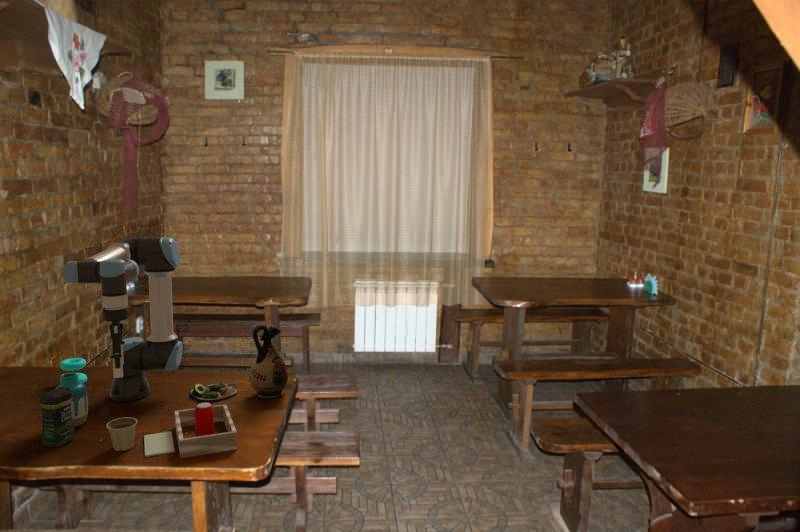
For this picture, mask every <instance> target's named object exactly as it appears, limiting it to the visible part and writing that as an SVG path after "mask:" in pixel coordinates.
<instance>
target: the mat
mask: <svg viewBox="0 0 800 532" xmlns="http://www.w3.org/2000/svg"><path fill="white" fill-rule="evenodd" d="M143 440H144V458H147V457H153V456H161V455H167V454H173V453H175V452H176V450H175V443H174V438H173V431H164V432H159V433H158V432H156V433H150V434H145V435H144V436H143Z"/></svg>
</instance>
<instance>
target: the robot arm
mask: <svg viewBox="0 0 800 532" xmlns="http://www.w3.org/2000/svg"><path fill="white" fill-rule="evenodd" d="M180 254H181V253H180V250H179V246H178V243H177V242H176V240H175V239H173V238H172V237H163V236H160V237H159V236H156V237H155V236H153V237H150V236H146V237H139V236H137V237H135V236H134V237H129V238H124V239H121V240H119V241H116V242H113V243H111V244H110V245H108V246H107V247H106V249H105V250H102V251H101V252H98V253H96V254H94V255H92V256H90V257H87V258H86V259H83V260H71V261H67V262H66V263H65V264H64V267H63V277H64V279H65V282H67V283H68V284H75V285H76V284H77V285H80V284H84V285H85V284H87V285H88V284H99V285H100V291H101V292H100V294H101V298H99V301H100V302H101V305H102V308H103V309H102V319H103V321H104V322H111V324H109V326H108V327H109V333H110V339H111V347H112V348H111V355H110V357H109V359H110V360H112V374H113V377H112V378H113V379H112V383H111V386H110V389H109V398H110V399H111V400H112V401H114V402H115V401H116V402H131V401H137V400H140V399H143V398H146V397H148V396H149V395H150V393H151V386H150V384H149V382H148V379H147V376H146V373H145V371H164V372H165V371H173V370H174V371H175V370H176V369H178V368H179V366H180V364H181V362H182V358H183V352H184V345H183V342H182V341H180V340H179V338H178V335H177V334H176V333H175V332H174V314H173V312H174V308H173V286H172V284H173V283H172V281H173V280H172V279H173V278H172V275H173V273H175V272H176V268H177V267H179V265H180V260H181V259H180V258H181V257H180ZM141 267H143V272H144V273H145V274H146V275H147V276H148V293H149V295H148V296H149V297H148V298H149V316H150V317H149V318H150V319H149V321H150V335H149V336H148V337H147V338H146V341H144V339H143V337H142V336H132V337H128V338H127V337H126V338H123V331H124V322H123V323H121V321H126V320H127V319H128V318H129V307H128V305H129V300H128V299H129V298H128V286H127V285H128V284H130V283H132V282H134V280H136V279H137V278H138V276H139V274H140V268H141Z"/></svg>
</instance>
